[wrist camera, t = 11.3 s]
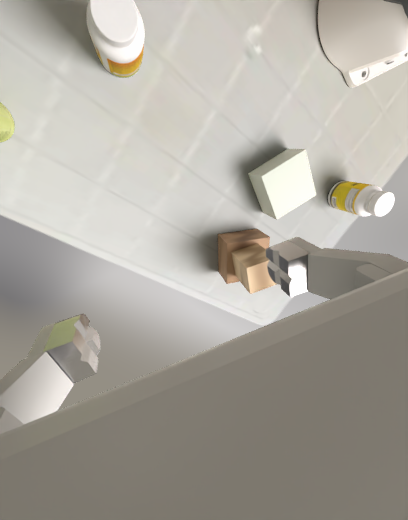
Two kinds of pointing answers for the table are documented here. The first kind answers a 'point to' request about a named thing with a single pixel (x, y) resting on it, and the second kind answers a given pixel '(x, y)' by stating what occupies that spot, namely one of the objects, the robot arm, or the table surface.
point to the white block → (283, 182)
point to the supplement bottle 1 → (117, 35)
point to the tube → (5, 124)
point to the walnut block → (234, 243)
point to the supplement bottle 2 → (360, 199)
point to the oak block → (252, 268)
